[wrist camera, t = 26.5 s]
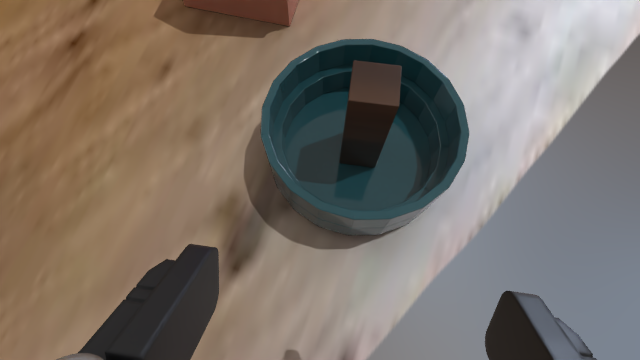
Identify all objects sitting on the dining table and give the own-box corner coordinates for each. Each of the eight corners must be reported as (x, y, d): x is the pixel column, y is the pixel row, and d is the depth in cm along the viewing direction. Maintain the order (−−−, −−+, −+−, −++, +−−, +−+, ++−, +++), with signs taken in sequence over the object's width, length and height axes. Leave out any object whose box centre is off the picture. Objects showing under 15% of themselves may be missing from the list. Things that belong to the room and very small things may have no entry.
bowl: (301, 263, 26) (297, 251, 21) (251, 107, 31) (238, 66, 26) (472, 203, 28) (507, 178, 23) (399, 65, 33) (414, 20, 28)
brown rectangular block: (374, 168, 28) (399, 106, 20) (339, 163, 28) (348, 100, 20) (377, 136, 29) (402, 65, 21) (343, 132, 29) (353, 59, 21)
